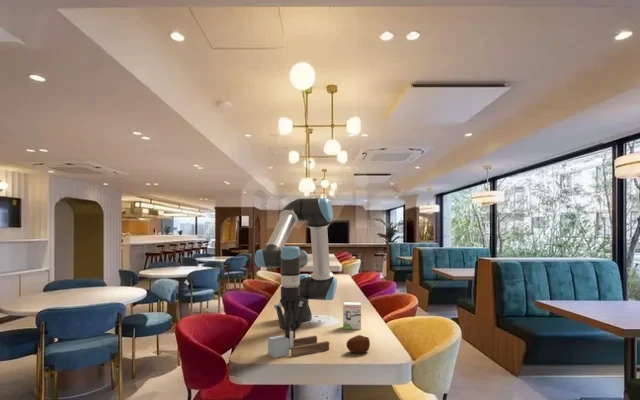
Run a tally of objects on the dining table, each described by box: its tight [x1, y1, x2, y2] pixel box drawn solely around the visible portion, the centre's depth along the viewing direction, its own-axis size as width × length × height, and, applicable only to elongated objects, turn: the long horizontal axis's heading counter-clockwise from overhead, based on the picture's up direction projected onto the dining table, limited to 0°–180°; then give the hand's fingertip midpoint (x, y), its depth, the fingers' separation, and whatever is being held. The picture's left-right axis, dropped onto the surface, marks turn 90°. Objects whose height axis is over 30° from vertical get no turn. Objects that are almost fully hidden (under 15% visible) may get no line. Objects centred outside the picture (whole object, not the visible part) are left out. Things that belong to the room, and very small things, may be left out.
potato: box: [345, 334, 371, 354], centre depth 153 cm, size 7×9×6 cm
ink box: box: [342, 301, 362, 330], centre depth 191 cm, size 9×5×12 cm, turn 88°
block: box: [267, 335, 290, 359], centre depth 151 cm, size 6×6×6 cm
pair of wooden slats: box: [289, 335, 330, 357], centre depth 157 cm, size 11×16×3 cm
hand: (290, 347), depth 153 cm, fingers closed
